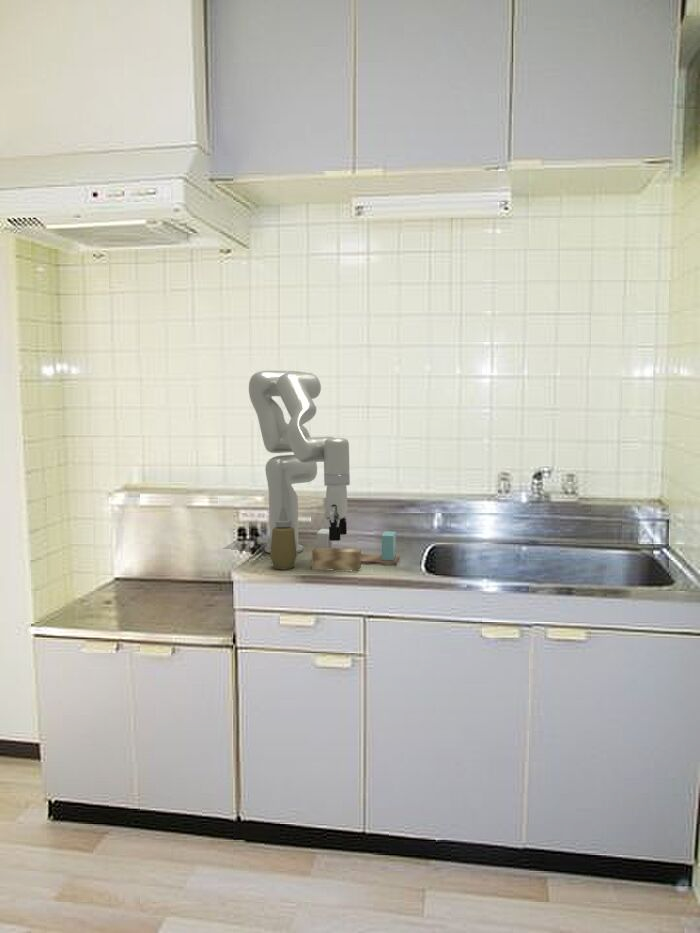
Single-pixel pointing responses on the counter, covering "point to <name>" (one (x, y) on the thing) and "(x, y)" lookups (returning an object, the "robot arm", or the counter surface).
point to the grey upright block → (323, 539)
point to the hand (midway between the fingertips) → (338, 537)
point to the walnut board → (377, 559)
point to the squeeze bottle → (283, 543)
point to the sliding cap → (388, 545)
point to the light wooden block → (336, 559)
